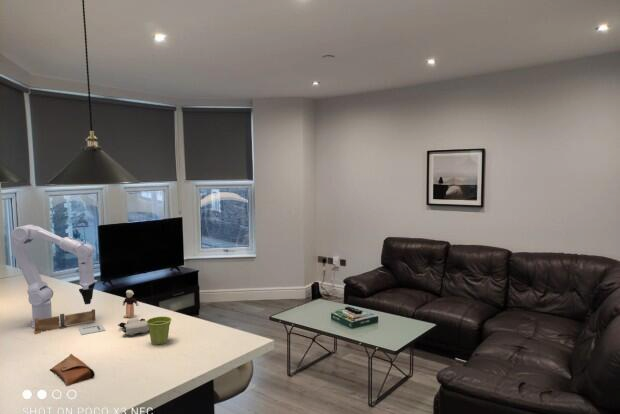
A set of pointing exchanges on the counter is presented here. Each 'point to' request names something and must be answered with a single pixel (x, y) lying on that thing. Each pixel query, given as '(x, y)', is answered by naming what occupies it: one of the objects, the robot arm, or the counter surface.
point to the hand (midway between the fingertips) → (88, 301)
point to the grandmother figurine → (129, 304)
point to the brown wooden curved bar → (77, 318)
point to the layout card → (91, 329)
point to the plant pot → (159, 329)
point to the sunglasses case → (72, 370)
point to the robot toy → (134, 326)
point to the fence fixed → (47, 324)
